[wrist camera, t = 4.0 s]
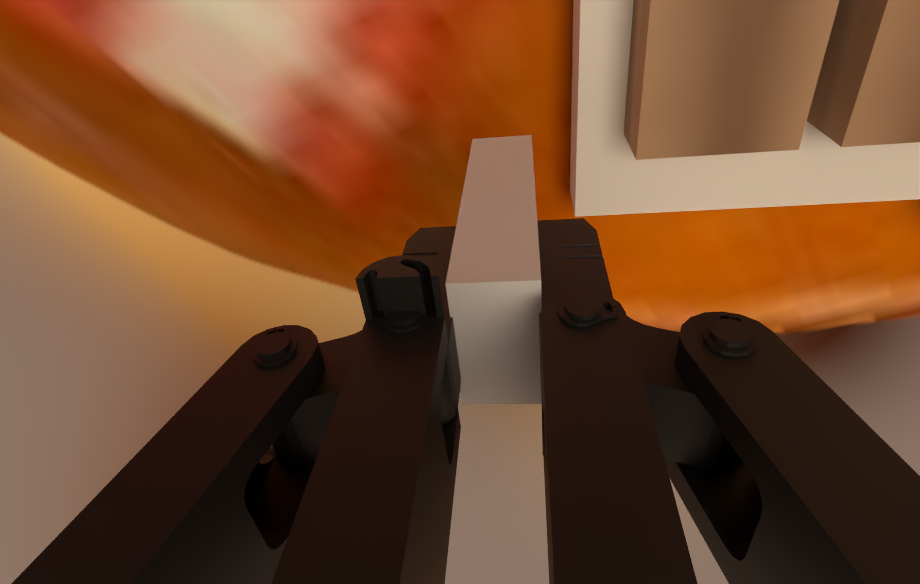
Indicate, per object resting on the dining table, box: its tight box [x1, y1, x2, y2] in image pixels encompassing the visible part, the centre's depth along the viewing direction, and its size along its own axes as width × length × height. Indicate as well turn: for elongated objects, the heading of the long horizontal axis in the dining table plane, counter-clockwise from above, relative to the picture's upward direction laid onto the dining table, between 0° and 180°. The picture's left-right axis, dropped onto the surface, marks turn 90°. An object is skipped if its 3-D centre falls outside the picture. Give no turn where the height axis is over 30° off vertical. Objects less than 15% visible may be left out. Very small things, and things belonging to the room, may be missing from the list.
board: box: [570, 0, 920, 217], centre depth 22 cm, size 17×14×3 cm
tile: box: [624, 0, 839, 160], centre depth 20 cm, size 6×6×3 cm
